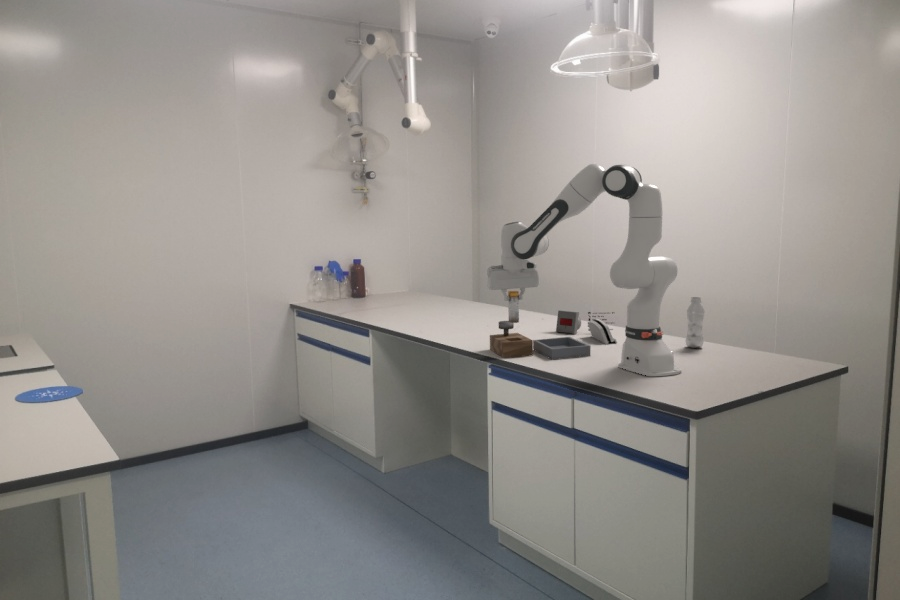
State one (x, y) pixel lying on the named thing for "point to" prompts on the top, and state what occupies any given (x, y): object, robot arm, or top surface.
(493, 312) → the top surface
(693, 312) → the plastic bottle
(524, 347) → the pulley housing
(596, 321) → the black-striped white block
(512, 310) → the gold-capped glass vial
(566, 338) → the tray
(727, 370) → the top surface
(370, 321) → the top surface
